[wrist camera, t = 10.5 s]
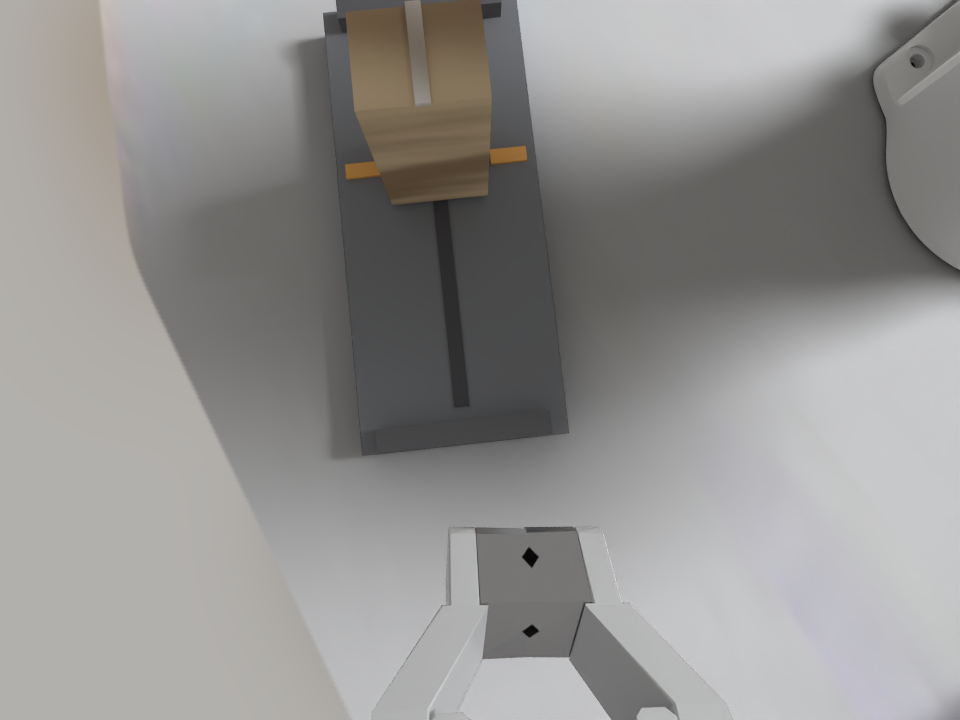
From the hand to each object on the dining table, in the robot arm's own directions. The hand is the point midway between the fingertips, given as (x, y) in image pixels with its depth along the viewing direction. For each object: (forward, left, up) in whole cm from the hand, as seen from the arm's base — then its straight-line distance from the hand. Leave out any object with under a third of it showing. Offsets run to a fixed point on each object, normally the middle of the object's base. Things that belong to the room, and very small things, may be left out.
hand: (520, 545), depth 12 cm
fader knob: (-10, -13, -19) cm, 25 cm away
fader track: (-9, -11, -22) cm, 26 cm away
